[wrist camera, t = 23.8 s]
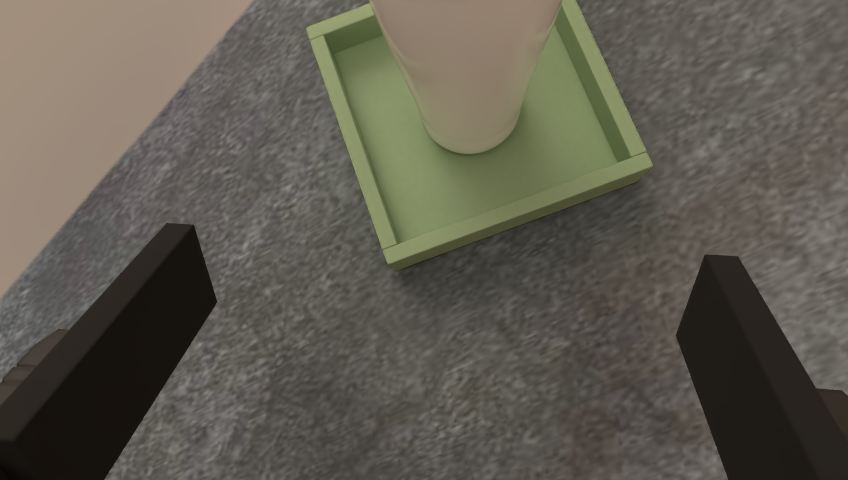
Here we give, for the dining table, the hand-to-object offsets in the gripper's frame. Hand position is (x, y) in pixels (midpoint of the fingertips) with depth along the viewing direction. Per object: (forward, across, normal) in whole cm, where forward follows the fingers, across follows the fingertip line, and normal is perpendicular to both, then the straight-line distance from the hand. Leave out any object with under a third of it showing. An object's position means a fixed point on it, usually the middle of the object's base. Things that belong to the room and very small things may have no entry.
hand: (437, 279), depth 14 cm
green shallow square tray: (+17, 0, -2) cm, 18 cm away
